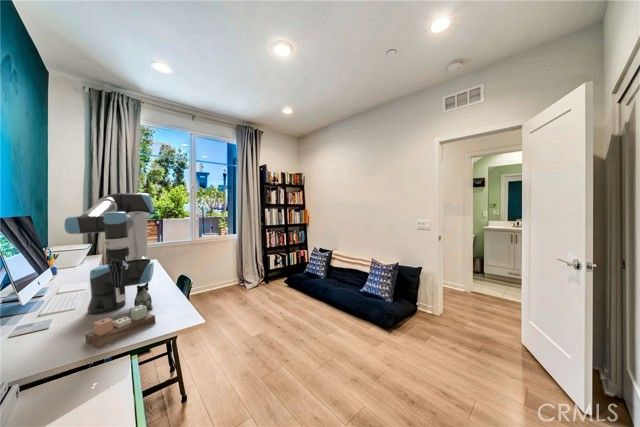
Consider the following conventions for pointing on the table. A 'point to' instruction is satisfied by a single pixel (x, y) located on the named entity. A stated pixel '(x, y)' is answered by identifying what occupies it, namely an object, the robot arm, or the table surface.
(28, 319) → the table surface
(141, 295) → the figurine
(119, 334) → the board
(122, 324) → the tile two
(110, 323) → the pink toy block
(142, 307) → the tile three
